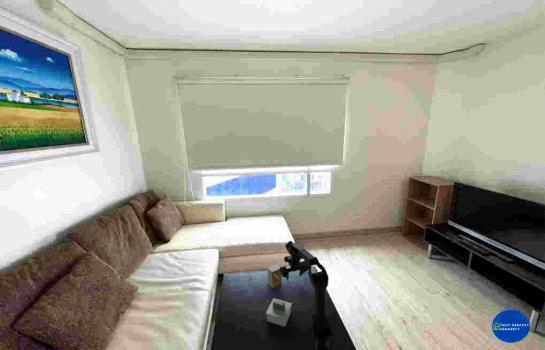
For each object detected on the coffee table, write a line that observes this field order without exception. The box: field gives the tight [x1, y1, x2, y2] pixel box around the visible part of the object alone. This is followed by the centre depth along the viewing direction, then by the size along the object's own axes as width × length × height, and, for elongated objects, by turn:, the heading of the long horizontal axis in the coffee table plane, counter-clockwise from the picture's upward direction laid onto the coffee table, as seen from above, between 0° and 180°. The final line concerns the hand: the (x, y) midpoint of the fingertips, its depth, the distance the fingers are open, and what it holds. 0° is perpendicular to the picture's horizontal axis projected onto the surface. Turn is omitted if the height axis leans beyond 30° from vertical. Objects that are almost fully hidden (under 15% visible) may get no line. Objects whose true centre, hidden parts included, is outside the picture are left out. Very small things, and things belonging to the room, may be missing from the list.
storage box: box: [266, 307, 292, 328], centre depth 127 cm, size 11×11×5 cm
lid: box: [265, 297, 293, 320], centre depth 126 cm, size 12×12×6 cm
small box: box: [266, 263, 282, 289], centre depth 153 cm, size 8×6×13 cm
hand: (293, 278), depth 137 cm, fingers open, 9 cm apart
